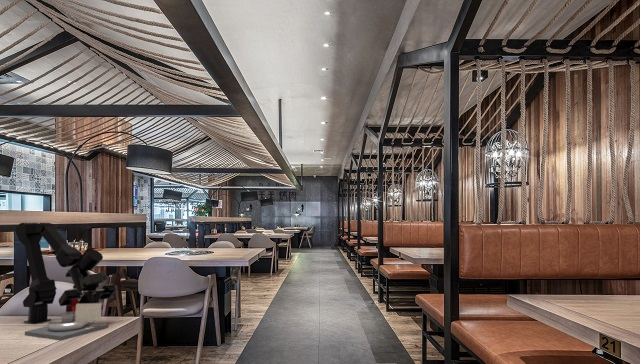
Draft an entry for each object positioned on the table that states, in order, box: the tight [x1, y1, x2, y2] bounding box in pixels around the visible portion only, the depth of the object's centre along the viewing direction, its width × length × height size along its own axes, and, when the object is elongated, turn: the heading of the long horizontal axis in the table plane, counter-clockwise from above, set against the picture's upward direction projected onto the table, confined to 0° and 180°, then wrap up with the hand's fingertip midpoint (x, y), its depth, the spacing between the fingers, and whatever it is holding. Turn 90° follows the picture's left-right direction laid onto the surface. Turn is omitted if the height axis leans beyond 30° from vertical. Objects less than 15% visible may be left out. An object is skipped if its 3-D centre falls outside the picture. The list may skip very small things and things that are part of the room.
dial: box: [47, 302, 102, 331], centre depth 148 cm, size 16×12×8 cm
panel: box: [24, 321, 110, 341], centre depth 147 cm, size 18×18×1 cm
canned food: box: [65, 287, 79, 317], centre depth 171 cm, size 8×8×11 cm
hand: (97, 313), depth 150 cm, fingers closed
